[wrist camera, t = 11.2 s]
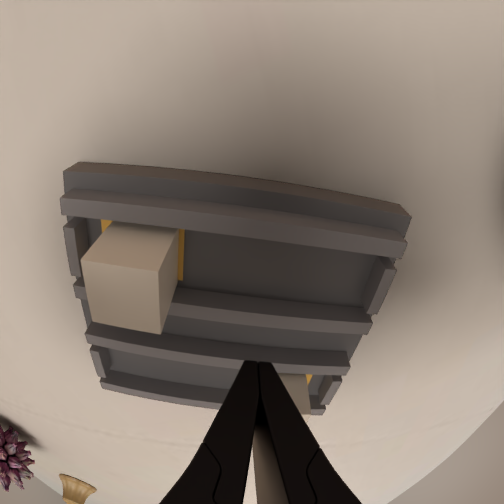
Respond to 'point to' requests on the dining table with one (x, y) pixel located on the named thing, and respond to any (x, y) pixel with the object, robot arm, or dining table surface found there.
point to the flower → (13, 459)
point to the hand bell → (75, 490)
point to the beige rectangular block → (132, 275)
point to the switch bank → (237, 278)
